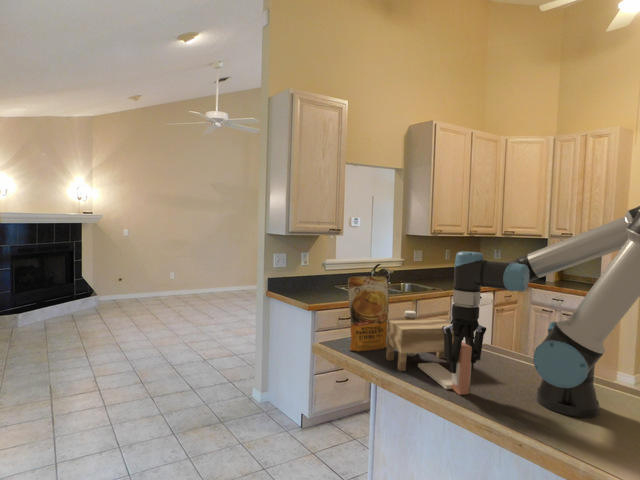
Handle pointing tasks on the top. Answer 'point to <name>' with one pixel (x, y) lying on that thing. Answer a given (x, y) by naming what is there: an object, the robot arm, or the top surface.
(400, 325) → the small wooden stool
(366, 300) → the pancake mix bag
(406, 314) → the sprinkles bottle
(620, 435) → the top surface
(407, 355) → the steel puck
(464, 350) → the plank with pink post
